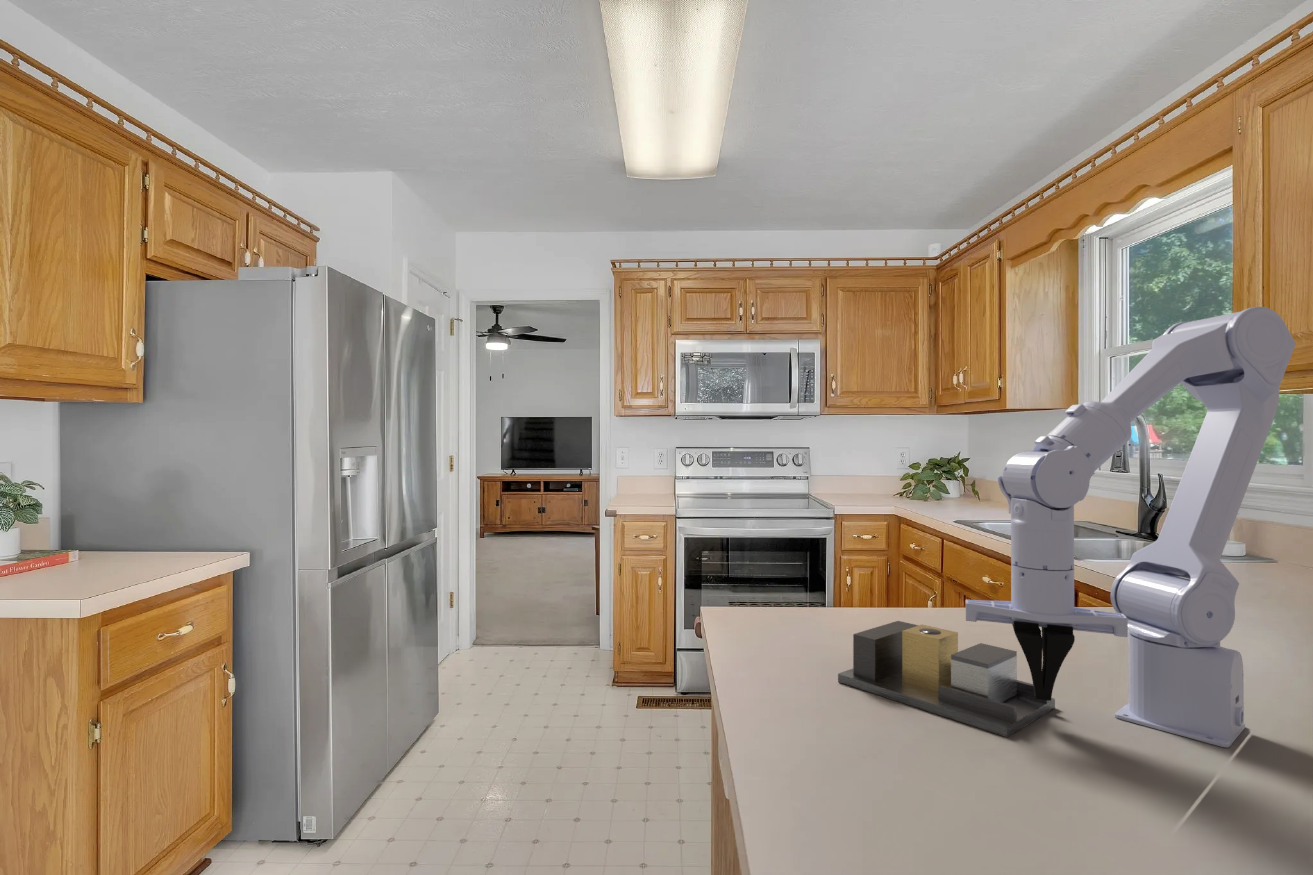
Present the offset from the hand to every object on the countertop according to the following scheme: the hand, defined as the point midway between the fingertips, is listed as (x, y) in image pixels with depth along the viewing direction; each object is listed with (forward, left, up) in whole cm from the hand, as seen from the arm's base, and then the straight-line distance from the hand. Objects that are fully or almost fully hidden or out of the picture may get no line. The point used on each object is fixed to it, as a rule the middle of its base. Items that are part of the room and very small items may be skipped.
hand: (1042, 696), depth 70 cm
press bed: (+11, 0, -3) cm, 11 cm away
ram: (+6, 0, -2) cm, 6 cm away
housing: (+12, 0, -2) cm, 12 cm away
